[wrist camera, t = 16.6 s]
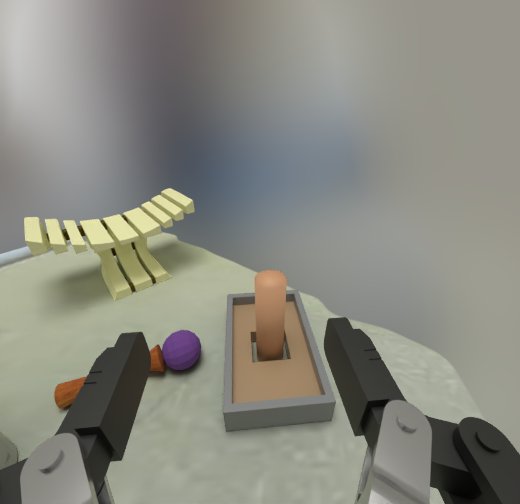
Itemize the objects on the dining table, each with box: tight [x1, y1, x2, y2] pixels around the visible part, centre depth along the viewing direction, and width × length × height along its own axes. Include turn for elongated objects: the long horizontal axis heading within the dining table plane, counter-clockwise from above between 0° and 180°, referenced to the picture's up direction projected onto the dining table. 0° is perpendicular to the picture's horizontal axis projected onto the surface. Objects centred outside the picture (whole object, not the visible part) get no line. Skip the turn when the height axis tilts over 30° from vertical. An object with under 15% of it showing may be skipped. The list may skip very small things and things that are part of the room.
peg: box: [255, 270, 287, 362], centre depth 39 cm, size 4×4×16 cm
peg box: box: [223, 290, 336, 431], centre depth 42 cm, size 14×22×4 cm, turn 5°
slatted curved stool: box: [24, 188, 195, 301], centre depth 59 cm, size 30×16×18 cm, turn 130°
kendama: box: [54, 330, 201, 409], centre depth 39 cm, size 6×6×20 cm
